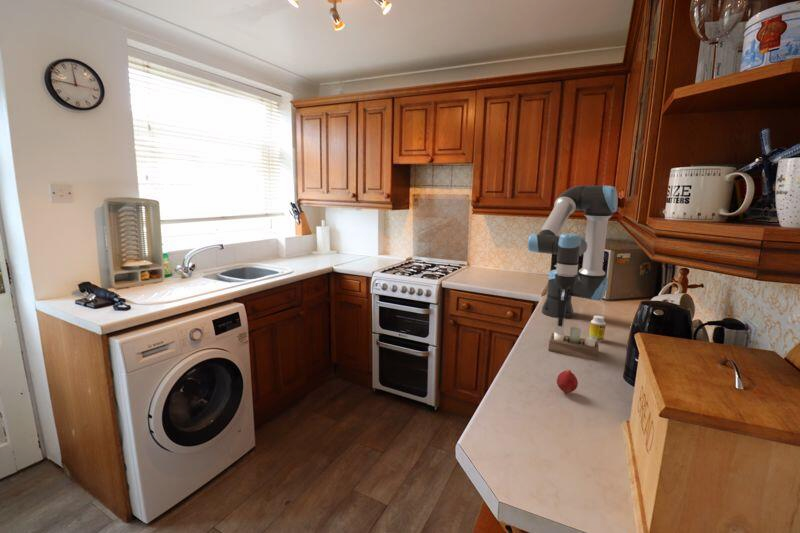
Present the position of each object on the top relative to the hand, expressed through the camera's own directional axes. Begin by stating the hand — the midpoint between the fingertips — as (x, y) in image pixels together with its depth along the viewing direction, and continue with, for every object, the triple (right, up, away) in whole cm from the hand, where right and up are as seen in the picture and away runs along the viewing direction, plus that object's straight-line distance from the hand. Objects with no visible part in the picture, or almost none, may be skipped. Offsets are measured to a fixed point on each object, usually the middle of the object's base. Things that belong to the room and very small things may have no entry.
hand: (559, 333), depth 149 cm
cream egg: (0, -5, +1) cm, 5 cm away
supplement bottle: (+20, -5, +11) cm, 23 cm away
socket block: (+5, -7, -1) cm, 8 cm away
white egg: (+10, -6, -4) cm, 12 cm away
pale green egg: (+5, -3, -2) cm, 6 cm away
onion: (-12, -13, -34) cm, 38 cm away
